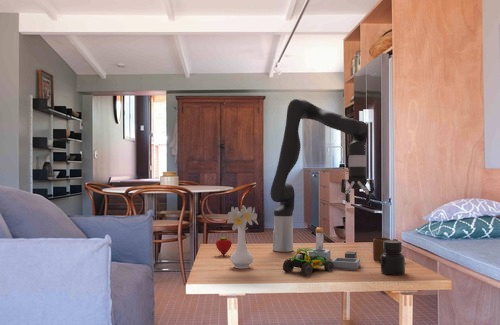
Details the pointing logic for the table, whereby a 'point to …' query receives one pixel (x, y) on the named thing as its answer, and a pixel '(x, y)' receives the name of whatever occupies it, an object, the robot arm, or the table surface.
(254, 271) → the table surface
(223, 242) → the strawberry
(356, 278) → the table surface
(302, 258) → the motor vehicle
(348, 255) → the block
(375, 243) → the mug
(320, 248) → the pin
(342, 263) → the tray
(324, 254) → the socket
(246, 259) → the flower vase
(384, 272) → the ink bottle
